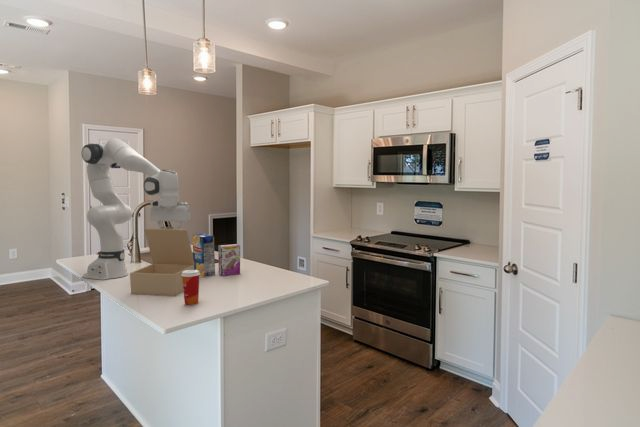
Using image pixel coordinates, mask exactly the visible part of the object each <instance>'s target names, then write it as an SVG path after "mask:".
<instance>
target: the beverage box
mask: <svg viewBox="0 0 640 427" xmlns="http://www.w3.org/2000/svg"><path fill="white" fill-rule="evenodd" d="M192 254H193V259H194V270H198V271H199V273H200V275H199V277H203V278H208V277H211V276H215V275H216V263H215V261H216V259H215V255H216V254H215V235H213V234H207V233H198V234H192Z"/></svg>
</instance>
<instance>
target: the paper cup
mask: <svg viewBox="0 0 640 427" xmlns="http://www.w3.org/2000/svg"><path fill="white" fill-rule="evenodd" d="M199 275H200V273H199V271H198V270H186V271H183V272H182V275H181V276H182V280H183V300H184V305H186V306H195V305H197V304H199V292H200V276H199Z"/></svg>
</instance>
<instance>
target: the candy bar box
mask: <svg viewBox="0 0 640 427" xmlns="http://www.w3.org/2000/svg"><path fill="white" fill-rule="evenodd" d="M217 248H218V252H217V254H218V275H219V276H221V277H226V276H233V275H240V274H241V245H240V244H237V243H235V244H223V245H222V244H221V245H218V247H217Z"/></svg>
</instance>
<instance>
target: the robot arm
mask: <svg viewBox="0 0 640 427" xmlns="http://www.w3.org/2000/svg"><path fill="white" fill-rule="evenodd" d="M81 158H82V160H83V161H84V162H85V163H87V166H86V174H87V175H86V176H87V180H88V183H89V187H90V191H91V193H92V196H93V198H94V199H96V200H97V201H99V202H100V203H101V204H102V205H97V206H95V207H92V208H89V209H88V211H87V214H86V219H87V222H88V223H89V225H91V226H92V227H94V229H95V230H96V232H97V234H98V237H99V244H100V251H98V252H97V253H95V255H96V256H97V255H98V256H97V258H96V259H95V260H93V261H92V262H91V263H90V264H89V265H88V266H87V271H86V273H84V274H83V275H82V278H83V279H92V280H101V281H103V280H109V279H110V280H111V279H116V278H117V279H118V278H122V277H127V276H128V274H129V273H128V271H127V267H126V263H125V262H126V261H125V257H126V256H125V249H124V238H123V237H124V236H123V234H121V233H120V232H119V231H117V229H116V226H115V225H121V224H124V223H127V222H129V221H130V220H131V219H132V217H133V210H132V207H130V206H129V205H128V204H126V203H124V202H123V200H121V198H120V196H119V195H118V194H117V191H116V189H115V185H114V183H113V178H112V176H111V172H110V167H112V168H114V167H117V166H119V167H120V168H122V169H124V170H126V171H129V172H136V173H137V172H138V173H142V174H144V175H147V177H146V178H145V179H144V182H143V190H144V192H145V193H146V194H147V195H149V196H159V199H156V200H154V201H151V202H150V206H151V207H150V209H149V220H150V221H151V222H156V224H157V225H158V227H159V229H165V225H164V226H163V225H162V222H178V224H179V225H178V226H177V228H176V229H183V225H184V224H185V223H187V222H189V221H190V220H191V219H192V218H191V211H190V210H191V205H190V204H189V203H188V202H180V194H179V188H180V187H179V176H178V173H177V172H176V171H175V170H173V169H161V168H159V167H158V166H157V165H155V164H154V163H153V162H151V161H150V160H148V159H147V158H145V157H144V156H143V155H141V154H140V153H139V152H137V151H136V150H135V149H133V147H132V146H130V144H128V143H127V142H125V141H124V140H122V139H120V138H118V137H113V138H111V139H109V140H108V141H107V142H106V143H88V144H86V145H84V146H82V149H81ZM148 176H149V177H148Z"/></svg>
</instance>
